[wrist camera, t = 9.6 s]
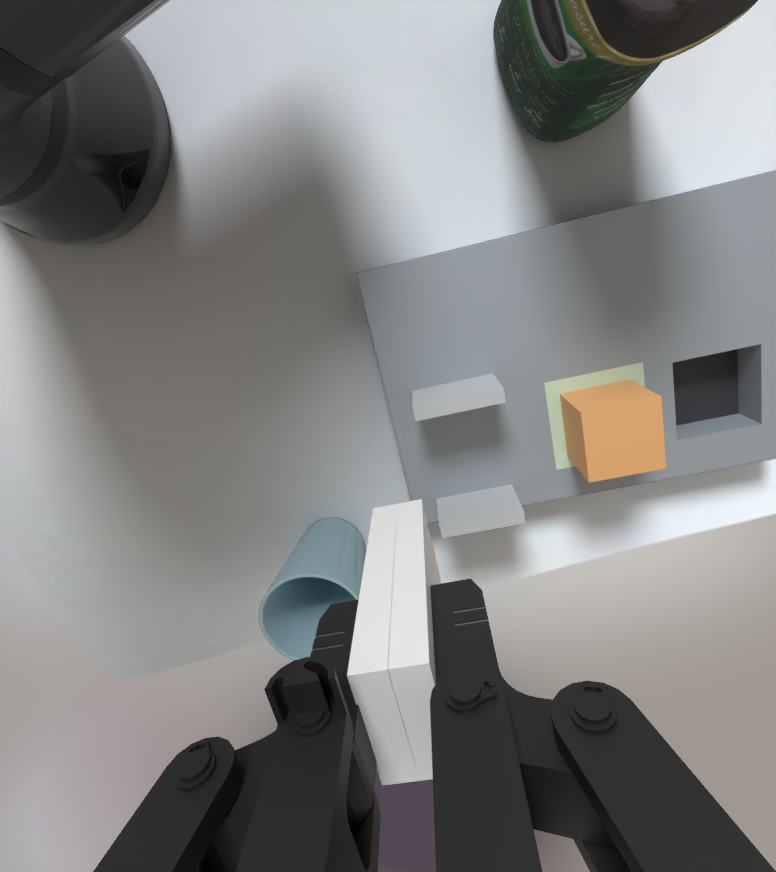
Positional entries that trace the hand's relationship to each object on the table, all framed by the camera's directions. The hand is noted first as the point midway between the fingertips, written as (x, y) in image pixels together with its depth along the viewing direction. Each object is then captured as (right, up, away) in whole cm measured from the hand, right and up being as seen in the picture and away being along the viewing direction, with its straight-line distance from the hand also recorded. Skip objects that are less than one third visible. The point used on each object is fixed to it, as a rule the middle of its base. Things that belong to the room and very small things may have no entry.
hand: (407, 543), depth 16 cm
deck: (+13, +9, +24) cm, 29 cm away
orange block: (+15, +5, +23) cm, 27 cm away
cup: (-5, -6, +31) cm, 32 cm away
